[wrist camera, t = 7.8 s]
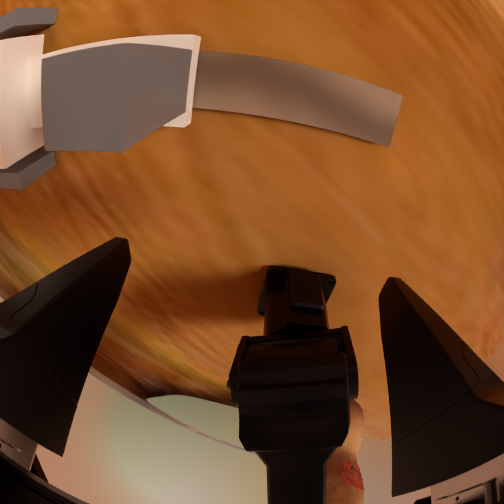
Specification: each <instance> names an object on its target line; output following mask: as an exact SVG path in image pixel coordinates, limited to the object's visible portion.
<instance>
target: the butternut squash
mask: <svg viewBox="0 0 504 504" xmlns="http://www.w3.org/2000/svg"><path fill="white" fill-rule="evenodd" d="M363 433H364V416H363V410H362V408H361V407H360V405H359V404H358V403H357V402H356V401H355V400H354V399H353V400H350V427H349V433H348V435H347V437H346V439H345V441H344V443H343V445H342V446H341V447H337V449H336V450H335V452H334V453H333V455H332V456H331V458H330V459H329V461H328V462H327V478H326V504H363V502H364V486H363V479H362V476H361V473H360V469H359V466H358V464H357V453H358V449H359V446H360V444H361V441H362V437H363Z"/></svg>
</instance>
